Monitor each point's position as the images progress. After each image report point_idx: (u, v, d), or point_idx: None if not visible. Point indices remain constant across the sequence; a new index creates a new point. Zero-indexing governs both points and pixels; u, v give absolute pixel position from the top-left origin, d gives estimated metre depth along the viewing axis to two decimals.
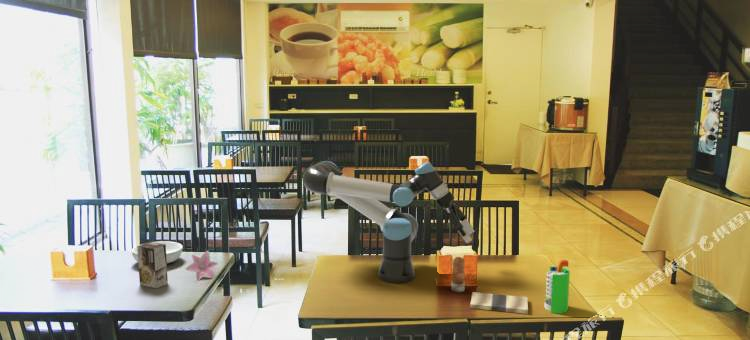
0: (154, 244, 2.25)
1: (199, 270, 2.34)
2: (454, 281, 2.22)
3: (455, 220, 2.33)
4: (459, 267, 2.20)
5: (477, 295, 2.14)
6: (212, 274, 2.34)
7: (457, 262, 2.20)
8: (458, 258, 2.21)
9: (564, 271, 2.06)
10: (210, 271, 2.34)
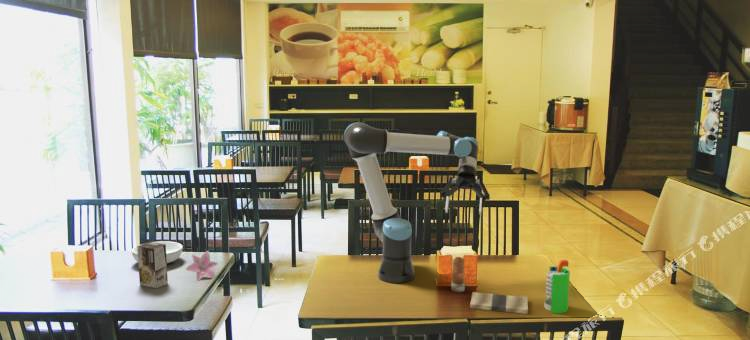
0: (154, 244, 2.25)
1: (199, 270, 2.34)
2: (454, 281, 2.22)
3: None
4: (459, 267, 2.20)
5: (477, 295, 2.14)
6: (212, 274, 2.34)
7: (457, 262, 2.20)
8: (458, 258, 2.21)
9: (564, 271, 2.06)
10: (210, 271, 2.34)
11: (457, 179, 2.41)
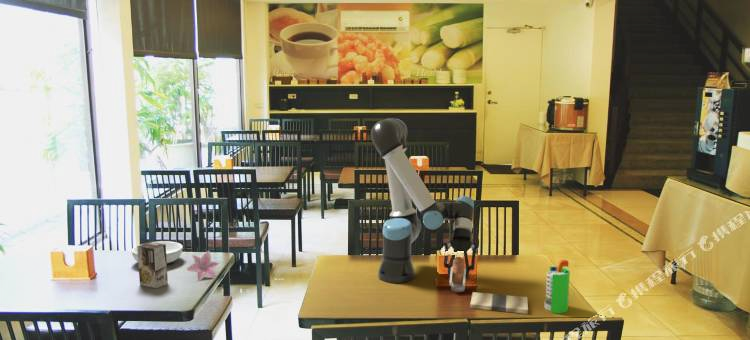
0: (154, 244, 2.25)
1: (200, 270, 2.34)
2: (454, 281, 2.22)
3: None
4: (459, 267, 2.20)
5: (477, 295, 2.14)
6: (213, 274, 2.34)
7: (457, 262, 2.20)
8: (458, 258, 2.21)
9: (564, 271, 2.06)
10: (211, 271, 2.34)
11: (452, 243, 2.29)
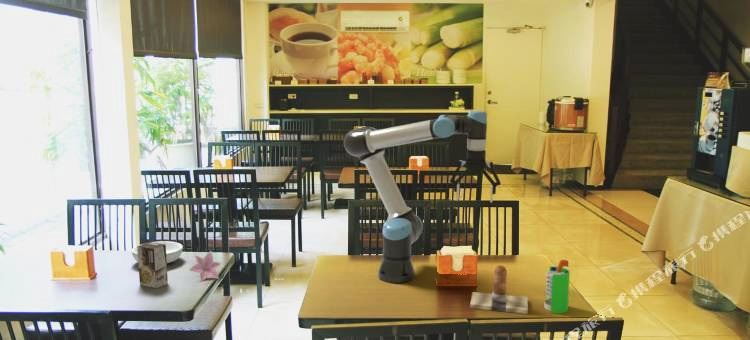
0: (154, 244, 2.25)
1: (203, 271, 2.33)
2: (495, 291, 2.07)
3: None
4: (501, 277, 2.06)
5: (477, 295, 2.14)
6: (216, 274, 2.34)
7: (499, 271, 2.06)
8: (500, 267, 2.06)
9: (564, 271, 2.06)
10: (213, 272, 2.34)
11: (466, 164, 2.32)
